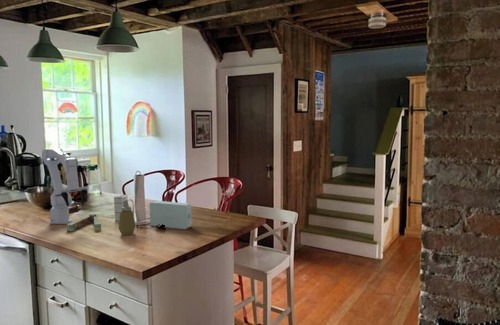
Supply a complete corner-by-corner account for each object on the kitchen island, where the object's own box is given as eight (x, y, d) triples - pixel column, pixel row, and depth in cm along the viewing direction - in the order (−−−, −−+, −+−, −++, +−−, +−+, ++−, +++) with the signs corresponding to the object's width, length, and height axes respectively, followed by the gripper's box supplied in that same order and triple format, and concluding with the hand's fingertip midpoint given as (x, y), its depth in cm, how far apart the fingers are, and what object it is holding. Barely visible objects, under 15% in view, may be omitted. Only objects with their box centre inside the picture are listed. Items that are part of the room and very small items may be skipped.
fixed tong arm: (89, 221, 233) (89, 214, 232) (99, 220, 235) (99, 213, 235) (89, 231, 212) (89, 224, 212) (101, 230, 214) (100, 222, 214)
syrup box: (123, 221, 233) (122, 196, 231) (114, 220, 234) (113, 196, 233) (128, 218, 239) (127, 194, 237) (119, 218, 240) (118, 194, 238)
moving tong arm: (84, 222, 230) (84, 216, 229) (90, 222, 229) (89, 216, 229) (66, 231, 212) (66, 224, 212) (72, 231, 212) (72, 224, 211)
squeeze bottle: (126, 237, 202) (125, 202, 200) (115, 234, 206) (114, 200, 204) (138, 233, 209) (137, 199, 207) (128, 231, 213) (126, 198, 211)
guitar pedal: (149, 225, 224) (148, 202, 222) (155, 223, 229) (154, 200, 228) (186, 229, 216) (185, 205, 214) (191, 227, 221) (191, 203, 220)
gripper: (59, 181, 208) (62, 207, 208) (88, 178, 217) (91, 202, 217) (56, 182, 214) (59, 207, 213) (84, 178, 222) (87, 203, 222)
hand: (75, 205), depth 215 cm, fingers open, 7 cm apart
